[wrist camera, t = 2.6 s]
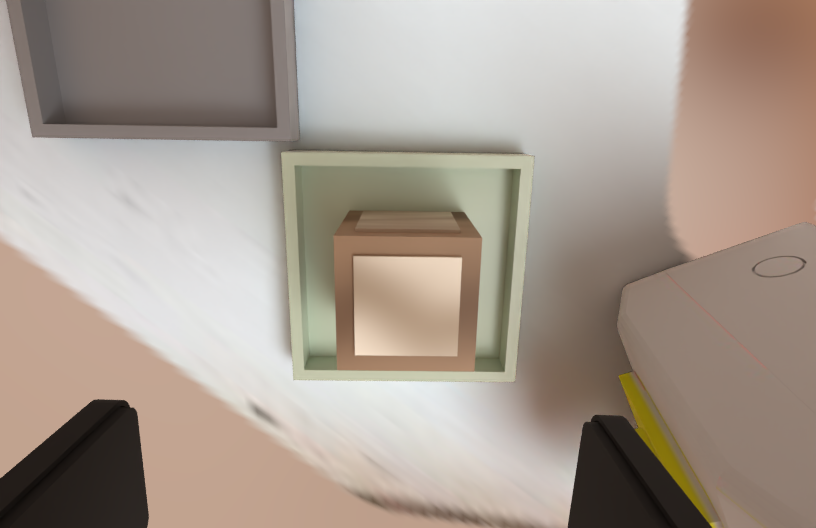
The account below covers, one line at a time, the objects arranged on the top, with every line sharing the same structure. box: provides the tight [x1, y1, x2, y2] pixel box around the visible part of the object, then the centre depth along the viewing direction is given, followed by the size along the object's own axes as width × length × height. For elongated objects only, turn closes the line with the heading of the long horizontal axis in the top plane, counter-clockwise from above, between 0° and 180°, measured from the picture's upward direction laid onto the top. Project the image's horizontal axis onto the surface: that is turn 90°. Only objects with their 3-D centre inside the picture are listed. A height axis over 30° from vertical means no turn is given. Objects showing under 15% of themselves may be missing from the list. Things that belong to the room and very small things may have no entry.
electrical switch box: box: [617, 222, 816, 528], centre depth 20 cm, size 15×15×20 cm
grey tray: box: [6, 0, 300, 141], centre depth 22 cm, size 12×12×2 cm
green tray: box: [281, 150, 535, 382], centre depth 26 cm, size 12×12×2 cm
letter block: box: [333, 210, 482, 372], centre depth 23 cm, size 6×6×6 cm
